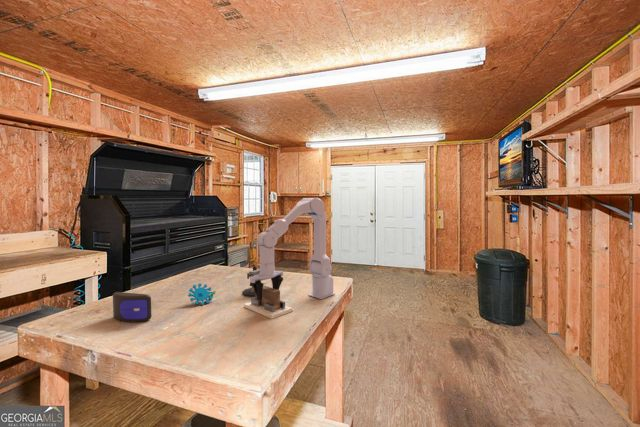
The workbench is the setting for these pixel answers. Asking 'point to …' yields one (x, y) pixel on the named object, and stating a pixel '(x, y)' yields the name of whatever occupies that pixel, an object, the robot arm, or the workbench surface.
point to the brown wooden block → (270, 297)
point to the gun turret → (250, 291)
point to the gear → (201, 294)
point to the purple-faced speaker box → (131, 307)
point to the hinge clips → (267, 304)
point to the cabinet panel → (268, 313)
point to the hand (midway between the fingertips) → (267, 297)
